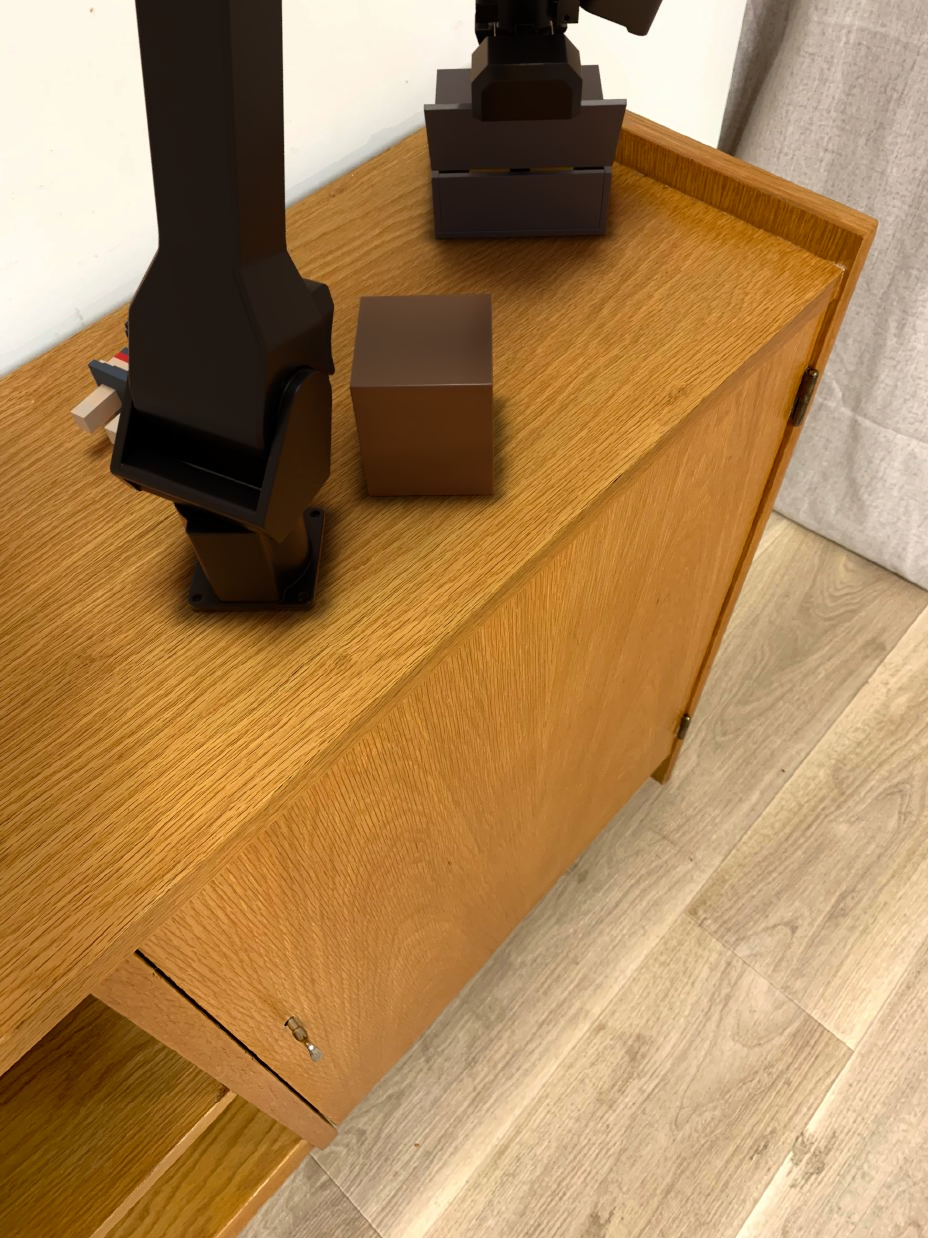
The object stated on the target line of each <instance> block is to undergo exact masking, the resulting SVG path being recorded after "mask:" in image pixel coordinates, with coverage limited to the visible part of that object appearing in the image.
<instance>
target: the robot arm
mask: <svg viewBox="0 0 928 1238" xmlns="http://www.w3.org/2000/svg"><path fill="white" fill-rule="evenodd" d="M663 1H664V0H474V4H475V5H474V6H475V8H474V9H475V13H474V35H475V38H476V40H477V41H476V42H477V44H478V46H477V47H476V48H475V50H473V52H472V53H471V59H470V60H471V64H470V65H471V66H470V68H471V98H472V117H473V118H475V119H477V120H479V121H481V122H491V121H528V120H566V119H573V118H574V117H576V116H578V115H579V114H580V112H581V99H582V86H583V77H582V69H581V65H582V61H581V53H580V50H579V48H577V46H576V45H575V44H574V43H573V42H572V41H571V40H570V39H569V37H568V36H567V35H566V34H565V33H566V32H567V30H568V28H569V26H568V25H575V24H579V19H580V9H581V10H583V11H585V12H586V13H588V14H591V15H593V16H596V17H598V18H601V19H603V20H606V21H609V22H611V23H613V24H617V25H618V26H622V27H624V28H625V29H626V32H627V33H629V34H630V35H631V34H632V35H634V36H637V37H645V36H647V35H648V34H649V31H650V29H651V27H652V25H653V23H654V21H655V19H656V17H657V14H658V12H659V10H660V7H661V5H662V3H663ZM134 7H135V9H134V10H135V17H136V28H137V36H138V37H137V38H138V46H139V57H140V68H141V76H142V87H143V97H144V106H145V117H146V126H147V136H148V145H149V146H148V147H149V155H150V156H149V157H150V164H151V174H152V175H151V176H152V185H153V195H154V205H155V213H156V225H157V241H158V242H157V249H156V251H155V253H154V255H153V256H152V259H151V262H150V263H149V265H148V267H147V269H146V271H145V272H144V274H143V277H142V278H141V281H140V282H139V284H138V286H137V288H136V290H135V293H134V294H133V296H132V298H131V300H130V302H129V304H128V308H127V318H128V319H127V321H128V338H127V348H128V375H127V380H126V385H125V390H124V396H123V401H122V406H121V411H120V416H119V422H118V427H117V432H116V437H115V442H114V444H113V447H112V448H113V449H112V452H111V453H112V454H111V458H110V464H109V472H110V474H111V475H113V477H115V478H116V479H118V480H119V481H121V483H123V484H125V485H126V487H128V488H129V489H131V490H135V491H138V492H140V493H141V492H145V493H148V494H151V495H153V496H156V497H158V498H162V499H164V500H167V501H169V502H173V506H174V508H175V510H176V512H177V514H178V517H179V518H180V521H181V523H182V525H183V528H184V531H185V534H186V536H187V538H188V540H189V542H190V544H191V547H192V549H193V551H194V553H195V555H196V560H195V565H194V570H193V573H192V578H191V581H190V587H189V592H188V596H187V602H188V604H189V606H190V607H191V609H192V610H194V611H253V610H254V611H267V610H268V611H269V610H273V611H274V610H275V611H277V610H279V611H280V610H284V611H285V610H308V609H310V608H312V607H313V606H314V605H315V602H316V595H317V588H318V581H319V573H320V565H321V559H322V549H323V542H324V533H325V525H326V515H325V511H324V509H323V508H321V507H318V506H310V504H311V503H312V502H313V500H314V499H315V498H316V496H317V495H318V493H319V492H320V491H321V489H322V488H323V487H324V485H325V484H326V483H327V481H328V480H329V478H330V475H331V461H332V431H333V430H332V429H333V427H332V425H333V424H332V423H333V389H332V388H333V387H332V384H331V381H330V376H334V375H335V372H336V367H335V363H334V357H333V350H332V347H333V346H332V336H333V334H332V333H333V325H334V314H335V303H334V300H333V297H332V294H331V290H330V287H329V285H328V284H326V283H324V282H320V281H317V280H313V279H309V278H306V277H302V275H301V273H300V271H299V270H298V268H297V265H296V263H295V262H294V260H293V259H292V257H291V255H290V253H289V250H288V245H287V229H286V227H287V225H286V224H287V223H286V221H287V220H286V165H285V164H286V163H285V162H286V160H285V159H286V158H285V103H284V100H285V96H284V38H283V37H284V36H283V35H284V34H283V33H284V32H283V29H284V28H283V0H134ZM530 169H531V168H525V169H510V171H511V172H526V171H530ZM315 516H316V517H315ZM304 598H307V599H306V600H303V599H304ZM199 599H200V600H199ZM197 600H199V601H197Z"/></svg>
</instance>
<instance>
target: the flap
mask: <svg viewBox="0 0 928 1238" xmlns="http://www.w3.org/2000/svg"><path fill="white" fill-rule="evenodd" d="M627 107H628V99H627V98H605V99H604V98H603V99H600V100H581V112H580V114H579V115H578V116H576V117H574V118H573V119H566V120H528V121H491V122H481V121H479V120H477V119H475V118H473V117H472V103H454V104H435V103H424V104H423V115H424V123H425V131H426V139H427V147H428V154H429V163H430V171H431V172H432V171H444V170H484V169H525V168H565V167H605V166H611V167H613V166H614V162H615V158H616V153H617V149H618V146H619V145H618V144H619V139H620V136H621V132H622V127H623V124H624V120H625V114H626V110H627Z"/></svg>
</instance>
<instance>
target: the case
mask: <svg viewBox="0 0 928 1238" xmlns="http://www.w3.org/2000/svg"><path fill="white" fill-rule="evenodd" d="M581 69H582V77H583V86H582V99H581V100H600V99H604V92H603V87H602V79H601V71H600V66H599V64H581ZM434 95H435V96H434V104H454V103H472V98H471V67H469V68H465V67H463V68H437V69H436V79H435V94H434ZM430 176H431V177H430V179H431V193H432V195H431V197H432V209H433V225H434V226H433V227H434V238H435V239H475V238H477V239H478V238H479V239H480V238H516V237H517V238H518V237H519V238H520V237H522V238H523V237H564V236H567V237H569V236H605V235H606V232H607V222H608V216H609V215H608V213H609V204H610V197H611V188H612V187H611V186H612V176H613V170H612V166H605V167H573V170H566V171H526V172H486V173H470V170H444V171H431V175H430Z"/></svg>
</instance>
